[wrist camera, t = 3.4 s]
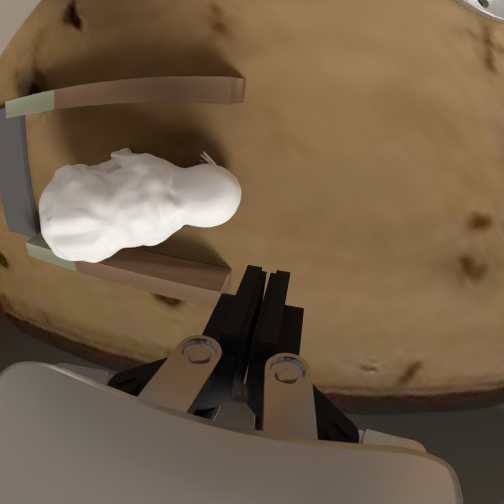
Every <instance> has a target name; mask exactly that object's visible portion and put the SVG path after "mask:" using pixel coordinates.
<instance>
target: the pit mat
mask: <svg viewBox="0 0 504 504" xmlns="http://www.w3.org/2000/svg"><path fill="white" fill-rule="evenodd" d="M0 193H1V198H2V203H3V208H4V213H5V217H6V221H7V225H8V229H9V231H12V232H16V233H19V234H23V235H26V236H30V237H34V236H35V235H37V234H38V233H40V228H39V224H38V219H37V214H36V209H35V204H34V198H33V192H32V186H31V179H30V172H29V164H28V156H27V146H26V133H25V115H21V116H16V117H11V118H6V108H2V109H0Z"/></svg>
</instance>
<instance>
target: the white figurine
mask: <svg viewBox="0 0 504 504" xmlns="http://www.w3.org/2000/svg"><path fill="white" fill-rule="evenodd" d="M201 150H202V149H201ZM204 153H205V152H204ZM204 153H203V154H204ZM205 154H206V153H205ZM205 154H204V155H205ZM200 155H201V154H200ZM201 156H202V155H201ZM205 156H206V157H207V158H205V157H204V156H202V157H203V158H204V159H205V160H206V161H207V162H208V164H203V163H202V164H201V165H196V166H193V167H189V168H180V167H178V166H175V165H174V164H172V163H170V162H168V161H167V160H164V159H161V158H158V157H155V156H153V155H151V154H148V153H143V154H135V153H132V151H131V150H130V149H129V148H123V149H121V150H120V151H115V152H112V153H111V158H112V159H111V160H109V161H107V162H103V163H100V164H99V165H92V166H88V165H85V164H76V165H73V166H71V165H65V166H63V167H62V168H60V169H58V170H57V171H56V172H55V175H54V177H53V180H52V181H51V182H50V183H49V184H48V185H47V186H46V188H45V189H44V191H43V193H42V195H41V197H40V201H39V215H40V224H41V233H42V236H43V238H44V239H45V241H46V242H47V244H48V245H49V246H50V248H51V250H52V251H53V253H54V254H55V255H56V256H58V257H60V258H62V259H65V260H69V261H87V262H91V263H96V262H100V261H102V260H104V259H106V258H109V257H111V256H112V255H113V254H115V253H116V252H117V251H119V250H120V249H122V248H129V247H137V246H141V245H146V246H154V245H157V244H159V243H161V242H163V241H164V240H166V239H167V238H168V237H169V236H170V235H172V234H173V233H174V232H176V231H177V230H179V229H180V228H181V227H182V226H183V225H185V224H188V225H192V226H197V227H212V226H217V225H220V224H223V223H224V222H226V221H227V220H229V219H230V218H231V217H232V216H233V215H234V213H235V212H236V210H237V208H238V206H239V203H240V199H241V187H240V185H239V183H238V180H237V178H236V177H235V176H234V175H233V174H232V173H231V172H230V171H229V170H227V169H225V168H223V167H221V166H218V165H216V164H215V162H214V161H213V160H212V159H211V158H210V157H209V156H208V155H207V154H206V155H205ZM201 161H202V160H201Z"/></svg>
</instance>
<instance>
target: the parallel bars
mask: <svg viewBox="0 0 504 504" xmlns="http://www.w3.org/2000/svg"><path fill="white" fill-rule="evenodd" d="M245 81H246V79H242V78H236V77H222V76H168V77H148V78H134V79H123V80H114V81H105V82H98V83H90V84H84V85H78V86H72V87H66V88H61V89H56V90H51V91H46V92H42V93H37V94H33V95H29V96H25V97H21V98H17V99H14V100H10V101H7V102H5V108H6V118H11V117H16V116H21V115H26V114H32V113H37V112H44V111H50V110H57V109H65V108H73V107H82V106H92V105H104V104H119V103H141V102H194V103H217V104H235V103H243V102H244V92H245ZM26 246H27V250H28V253H29V256H31V257H34V258H37V259H40V260H43V261H46V262H49V263H52V264H55V265H58V266H62V267H65V268H68V269H71V270H74V271H78V272H81V273H84V274H88V275H91V276H94V277H98V278H101V279H105V280H108V281H111V282H115V283H119V284H122V285H126V286H129V287H133V288H137V289H140V290H144V291H148V292H152V293H156V294H160V295H163V296H167V297H171V298H175V299H179V300H184V301H188V302H192V303H196V304H200V305H205V306H209V307H213V308H215V306H216V304H217V302H218V300H219V298H220V296H221V294H222V293H227V291H228V289H229V286H230V282H231V269H230V268H225V267H220V266H215V265H210V264H205V263H200V262H196V261H191V260H186V259H181V258H176V257H171V256H166V255H162V254H157V253H152V252H147V251H143V250H138V249H133V248H122V249H120V250H119V251H117V252H116V253H115V254H113V255H112V256H111V257H109V258H106V259H104V260H102V261H100V262H96V263H91V262H87V261H69V260H65V259H62V258H60V257H58V256H56V255H55V254H54V253H53V251H52V250H51V248H50V246H49V245H48V244H47V242H46V241H45V239H44V238H43V236H42V233H41V232H40V233H38V234H37V235H35V236H34V237H33V238H31V239H30V240H28V241H27V242H26Z"/></svg>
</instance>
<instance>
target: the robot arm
mask: <svg viewBox="0 0 504 504" xmlns="http://www.w3.org/2000/svg"><path fill="white" fill-rule="evenodd" d="M455 1H456V2H458V3H459V4H461V5H462V6H464V7H465V8H467V9H469V10H471V11H473V12H475V13H477V14H479V15H481V16H483V17H486V18H489V19H491V20H494V21H497V22H502V23H504V0H455ZM266 274H267V272H264V271H262V267H257V266H252V265H248V266H247V269H246V271H245V274H244V276H243V279H242V281H241V283H240V286H239V288H238V291H237V293H236V295H231V294H226V293H222V294H221V296H220V298H219V300H218V302H217V304H216V306H215V309H214V311H213V313H212V315H211V317H210V319H209V321H208V323H207V325H206V327H205V330H204V332H203V334H202V335H194V336H190V337H187V338H185V339H184V340H182V341H181V342H180V343H179V344H178V346H177V347H176V348H175V350H174V351H173V352H172V353H171V355H170V356H169V357H167V358H164V359H161V360H158V361H155V362H152V363H148V364H145V365H142V366H139V367H136V368H132V369H129V370H126V371H122V372H120V373H117V374H115V375H111V374H110V372H108V371H102V370H97V369H91V368H86V367H81V366H76V365H71V364H65V363H61V364H57V365H51V364H46V363H40V362H19V363H15V364H13V365H11V366H9V367H8V368H7V369H5V370H4V371H3V372H2V373H1V374H0V504H463V501H462V494H461V490H460V486H459V482H458V479H457V476H456V474H455V472H454V470H453V469H452V467H451V466H450V465H449V464H448V463H446V462H445V461H443V460H442V459H440V458H438V457H436V456H433V455H431V454H428V453H426V451H425V449H424V447H423V446H422V445H421V444H420V443H418V442H416V441H413V440H409V439H404V438H400V437H396V436H391V435H388V434H384V433H380V432H376V431H372V430H368V429H366V430H365V431H361V430H358V429H357V428H356V426H355V425H354V424H353V423H352V422H351V421H350V420H349V419H348V418H347V417H346V416H345V415H344V414H343V413H342V412H341V411H340V410H339V409H338V408H336V407H335V406H334V405H333V404H332V403H331V402H330V401H329V400H328V399H327V398H326V397H325V396H324V395H323V394H322V393H321V392H320V391H319V390H318V389H317V388H316V387H315V386H314V385H313V384H312V376H311V370H310V366H309V364H308V363H307V362H306V361H305V360H304V359H303V358H301V357H300V356H299V351H300V342H301V332H302V323H303V312H304V308H300V307H294V306H288V305H285V301H286V295H287V289H288V284H289V278H290V272H285V271H279V270H277V271H276V274H275V273H271V274H270V277H269V281H268V285H267V288H266V292H265V295H264V288H265V281H266ZM263 295H264V299H263ZM262 302H263V303H262ZM247 368H248V373H247V380H246V387H245V394H244V395H247V396H249V397H248V403H247V405H248V406H249V408H250V409H251V410H252V411H253V412H254V414H255V419H254V429H249V428H244V427H239V426H235V425H231V424H226V423H222V422H218V421H214V418H215V416H216V414H217V413H218V410H219V408H220V405H221V404H223V403H226V402H228V401H230V400H233V397H234V394H235V393H237V394H240V393H241V389H242V386H243V382H244V379H245V375H246V372H247Z"/></svg>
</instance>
